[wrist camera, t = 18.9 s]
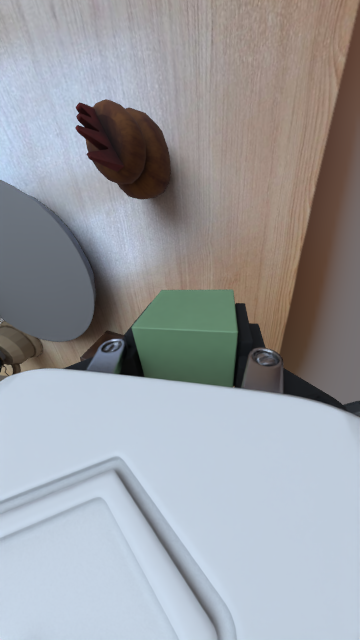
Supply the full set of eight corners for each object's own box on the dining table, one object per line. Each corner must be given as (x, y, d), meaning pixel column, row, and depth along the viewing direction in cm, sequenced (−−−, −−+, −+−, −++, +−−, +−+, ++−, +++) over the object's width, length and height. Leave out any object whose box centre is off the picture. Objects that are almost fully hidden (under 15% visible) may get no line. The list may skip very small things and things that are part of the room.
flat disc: (122, 334, 39) (111, 347, 35) (20, 325, 45) (2, 336, 41) (78, 168, 25) (52, 161, 21) (-63, 187, 30) (-103, 184, 27)
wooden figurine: (178, 197, 24) (127, 182, 11) (139, 203, 25) (54, 195, 13) (172, 127, 20) (89, -6, 8) (127, 138, 22) (-5, 39, 9)
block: (169, 344, 14) (148, 394, 10) (161, 289, 12) (130, 327, 8) (229, 348, 13) (231, 405, 9) (233, 289, 11) (238, 332, 7)
